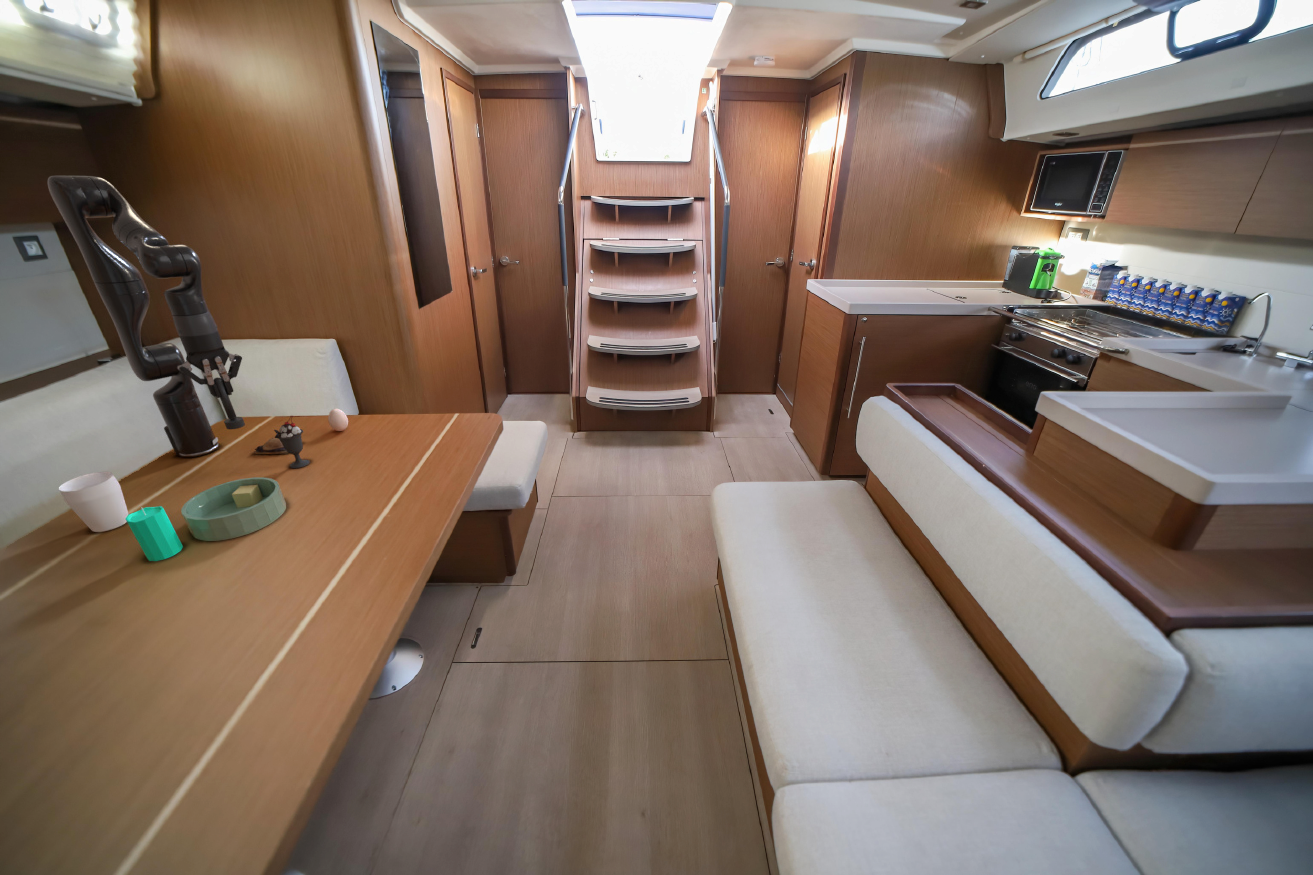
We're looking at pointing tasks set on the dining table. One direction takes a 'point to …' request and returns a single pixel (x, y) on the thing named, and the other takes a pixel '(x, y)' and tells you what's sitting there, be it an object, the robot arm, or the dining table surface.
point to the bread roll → (271, 447)
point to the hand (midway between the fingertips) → (223, 395)
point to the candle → (154, 533)
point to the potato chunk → (247, 496)
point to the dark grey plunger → (228, 407)
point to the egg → (338, 420)
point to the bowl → (232, 510)
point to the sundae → (292, 442)
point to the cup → (96, 500)
